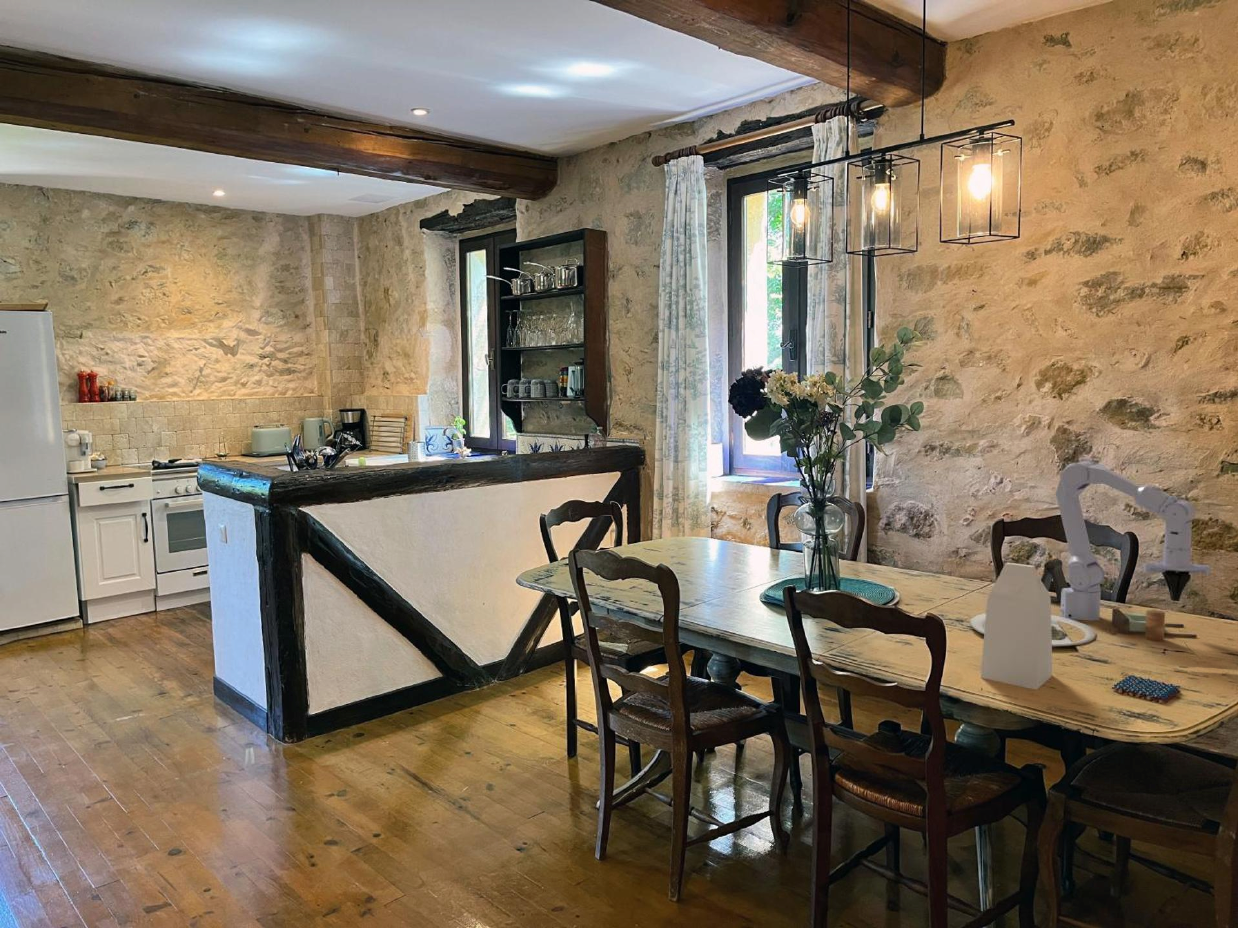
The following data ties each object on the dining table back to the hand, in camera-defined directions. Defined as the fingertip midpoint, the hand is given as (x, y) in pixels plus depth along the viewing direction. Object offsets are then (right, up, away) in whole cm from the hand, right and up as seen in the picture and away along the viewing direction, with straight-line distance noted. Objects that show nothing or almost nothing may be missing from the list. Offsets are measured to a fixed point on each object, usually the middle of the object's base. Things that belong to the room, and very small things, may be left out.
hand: (1174, 600), depth 222 cm
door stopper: (-12, -6, +40) cm, 42 cm away
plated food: (-33, -10, +8) cm, 36 cm away
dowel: (-7, -9, -3) cm, 12 cm away
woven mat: (-29, -15, -35) cm, 48 cm away
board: (-4, -10, +1) cm, 11 cm away
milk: (-52, -14, -24) cm, 59 cm away
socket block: (-6, -8, +5) cm, 11 cm away
